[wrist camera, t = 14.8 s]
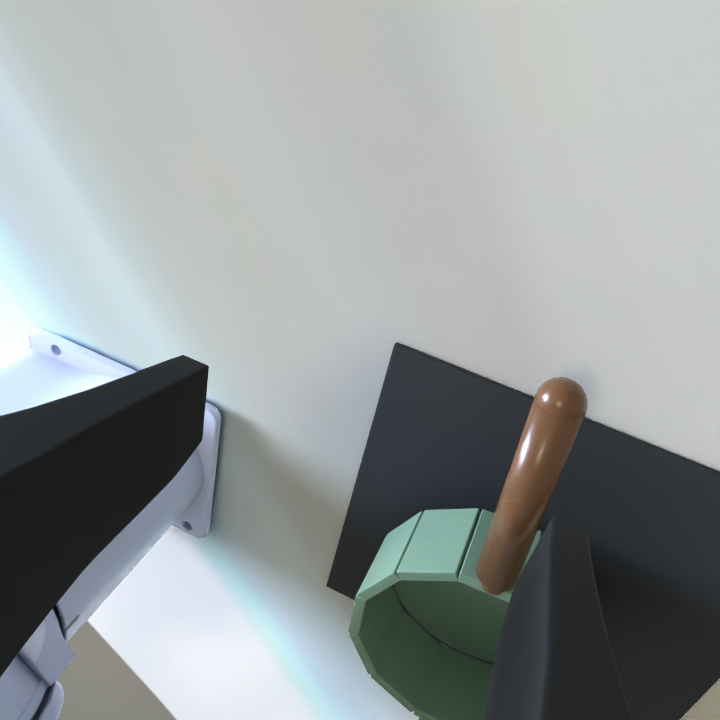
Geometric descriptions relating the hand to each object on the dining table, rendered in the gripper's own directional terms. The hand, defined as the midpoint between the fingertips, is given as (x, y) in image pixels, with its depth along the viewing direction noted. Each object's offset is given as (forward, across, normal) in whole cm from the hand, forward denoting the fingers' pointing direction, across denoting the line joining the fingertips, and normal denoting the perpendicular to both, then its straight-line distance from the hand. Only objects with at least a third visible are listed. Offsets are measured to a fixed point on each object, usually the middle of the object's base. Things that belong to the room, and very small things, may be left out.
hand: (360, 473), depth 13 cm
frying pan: (+9, -4, +8) cm, 13 cm away
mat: (+9, -6, +10) cm, 15 cm away
